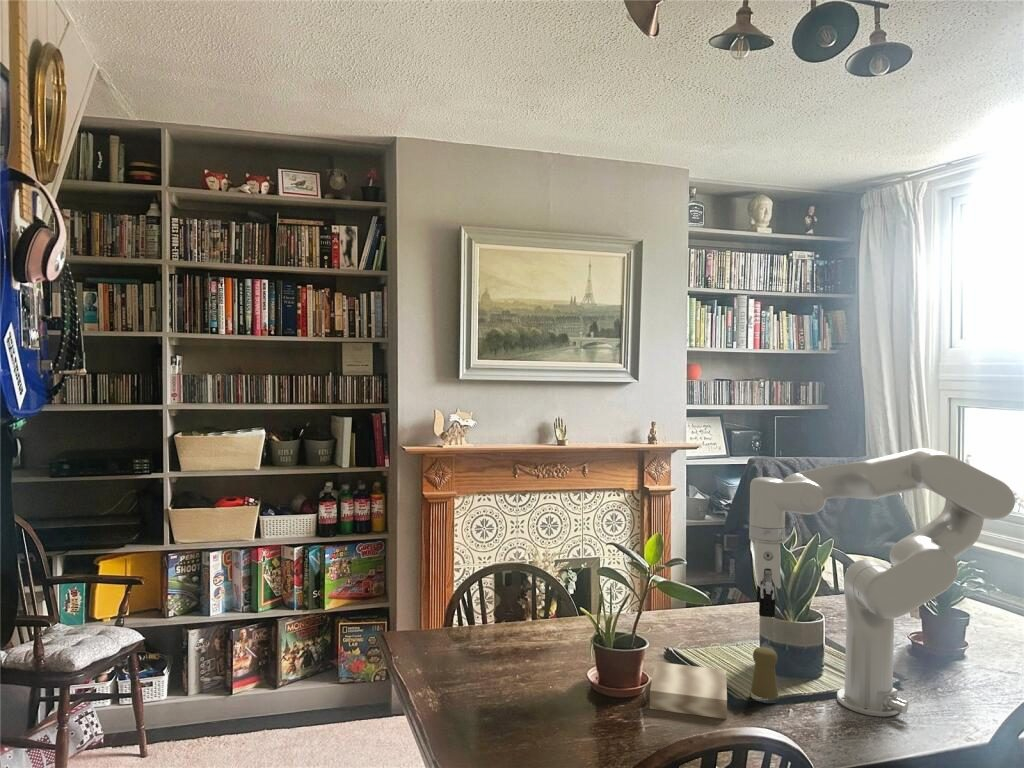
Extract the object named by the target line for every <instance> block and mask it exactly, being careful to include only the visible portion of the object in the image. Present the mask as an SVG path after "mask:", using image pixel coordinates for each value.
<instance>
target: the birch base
mask: <svg viewBox="0 0 1024 768" xmlns="http://www.w3.org/2000/svg"><path fill="white" fill-rule="evenodd" d="M653 669H654V670H653V674H652V679H651V683H650V689H649V709H651V710H657V711H658V710H659V711H664V712H673V713H678V714H679V713H680V714H687V715H694V716H702V717H709V718H717V719H723V720H727V717H728V693H727V692H728V691H727V685H728V684H727V669H720V668H712V667H705V666H704V667H703V666H696V665H685V664H677V663H672V662H671V663H669V662H660V661H655V664H654V668H653Z"/></svg>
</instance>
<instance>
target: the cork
mask: <svg viewBox="0 0 1024 768" xmlns="http://www.w3.org/2000/svg"><path fill="white" fill-rule="evenodd" d="M752 659H753V661H754V670H753V677H752V683H751V688H750V689H751V690H750V693H751V692H752V693H753V694H754V695H756V696H758V697H762V698H766V699H767V698H768V699H769V700H770V699H775V698H777V696H778V697H779V693H778V685H777V683H778V682H777V676H776V665H777V662H778V654H777V652H776V651H775V650H773V649H772V648H770V647H765V646H761V647H756V648H755V649H754V650H753V653H752Z"/></svg>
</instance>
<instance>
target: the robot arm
mask: <svg viewBox="0 0 1024 768" xmlns="http://www.w3.org/2000/svg"><path fill="white" fill-rule="evenodd" d="M921 489H925V490H929V491H931V492H933V493H935V494H937V495H939V496H940V497H942V498H944V499H945V501H944V507H943V508H942V511H941V512H940V514H939V515H938V516H937V517H936V518H934V519H933V520H932V521H930V522H929V523H927V524H925V525H924V526H922V527H920V528H919V529H917V530H915V531H914V532H912V533H910V534H909V535H907V536H905V537H903V538H902V539H900V540H898V541H897V542H896V543H894V545H893V546H892V547H891V548H890V550H889V561H890V563H891V565H892V567H890V568H888V567H886V566H885V565H883V564H882V563H880V562H877V561H875V560H873V559H872V560H871V559H859V560H857V561H854V562H853V563H851V564H850V565H849V566H848V567H847V569H846V570H845V571H846V572H845V573H844V578H843V589H844V590H843V593H844V600H845V601H844V602H845V615H846V616H845V628H846V629H845V659H844V664H845V665H844V687H842V688H840V689H838V690H837V692H836V699H837V701H838V702H839V704H840V705H842V706H844V707H845V708H846V709H849V710H851V711H853V712H856V713H857V714H858V713H859V714H863V715H866V716H872V717H882V718H883V717H893V716H895V715H897V714H899V713H900V714H902V715H906V714H907V712H908V708H909V701H907V700H904V698H903V699H902V698H899V696H898V689H896V688H895V687H894V650H895V649H894V646H895V645H894V644H895V643H894V639H895V620H894V619H896V618H897V619H898V618H901V617H903V616H905V615H907V614H908V613H911V612H912V611H915V610H916V609H918V608H919V607H922V605H924V604H926V603H928V602H930V601H931V600H933V599H935V598H936V597H938V596H940V595H941V594H943V593H944V592H946V591H947V590H948V589H949V588H951V586H952V585H953V584H954V582H955V581H956V579H957V577H958V572H959V569H958V568H959V567H958V562H957V560H956V558H957V557H959V556H960V555H962V554H964V553H965V552H966V551H967V550H969V549H970V548H972V547H973V546H974V544H975V543H977V541H978V540H979V537H980V535H981V532H982V529H983V525H984V520H987V521H996V520H1000V519H1004V518H1006V517H1007V516H1009V515H1010V514H1011V513H1012V511H1013V510H1014V508H1015V505H1016V504H1015V503H1016V499H1015V498H1016V497H1015V494H1014V493H1013V490H1012V489H1011V488H1010V486H1009V485H1008V484H1007V483H1005V482H1004V481H1002V480H1001V479H998V478H996V477H995V476H992V475H991V474H988V473H986V472H984V471H982V470H980V469H978V468H977V467H975V466H973V465H970V464H969V463H967V462H964V460H961V459H959V458H957V457H955V456H953V455H951V454H949V453H946V452H943V451H938V450H935V449H931V448H926V447H925V448H924V447H923V448H922V447H920V448H913V449H910V450H909V449H908V450H906V451H901V452H896V453H892V454H888V455H884V456H880V457H875V458H871V459H866V460H860V461H853V462H847V463H843V464H836V465H835V464H834V465H827V466H822V467H821V466H820V467H816V468H812V469H808V470H803V471H799V472H796V473H792V474H789V475H788V476H785V478H783V480H782V479H780V478H777V477H770V476H767V477H766V476H762V477H761V476H760V477H755V478H752V479H751V481H750V484H749V524H748V525H749V527H748V530H749V531H748V533H749V534H748V536H749V537H748V539H749V540H750V541H752V542H754V571H755V573H754V574H755V579H756V602H757V603H758V605H759V606H758V607H759V608H758V611H759V612H758V614H759V616H760V617H765V618H766V617H767V618H774V617H775V616H776V598H775V588H777V590H779V589H780V588H781V586H782V584H781V583H782V582H781V544H784V543H785V540H786V512H788V513H795V514H800V515H807V516H808V515H814V514H816V513H819V512H820V511H822V510H823V508H824V507H825V506H826V501H827V500H829V499H838V498H849V499H850V498H851V499H852V498H853V499H858V500H859V499H860V500H876V499H881V498H885V497H890V496H893V495H898V494H902V493H908V492H912V491H916V490H921ZM775 618H776V617H775Z"/></svg>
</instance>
